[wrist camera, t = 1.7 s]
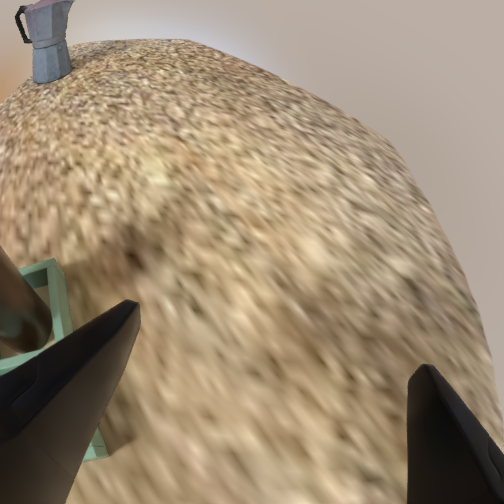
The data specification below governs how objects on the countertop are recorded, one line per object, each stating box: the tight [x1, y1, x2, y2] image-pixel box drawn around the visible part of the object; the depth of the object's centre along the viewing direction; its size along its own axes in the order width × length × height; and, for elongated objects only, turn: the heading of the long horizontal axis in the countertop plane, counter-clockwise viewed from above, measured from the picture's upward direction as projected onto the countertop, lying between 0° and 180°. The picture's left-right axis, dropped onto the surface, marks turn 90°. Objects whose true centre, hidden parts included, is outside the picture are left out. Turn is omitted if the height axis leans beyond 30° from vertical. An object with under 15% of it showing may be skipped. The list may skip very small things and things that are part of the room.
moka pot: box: [15, 0, 75, 83], centre depth 39 cm, size 10×15×20 cm, turn 92°
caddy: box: [0, 258, 109, 462], centre depth 18 cm, size 16×8×3 cm, turn 25°
